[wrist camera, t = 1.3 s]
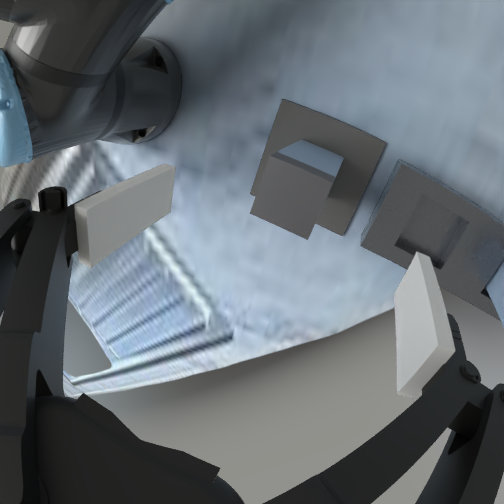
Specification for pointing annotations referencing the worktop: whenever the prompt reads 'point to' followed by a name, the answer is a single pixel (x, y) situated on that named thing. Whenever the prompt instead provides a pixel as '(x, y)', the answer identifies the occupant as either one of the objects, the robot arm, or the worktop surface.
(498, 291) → the twin plug
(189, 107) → the worktop surface
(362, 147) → the mat
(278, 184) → the plug
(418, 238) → the strip
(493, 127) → the worktop surface
